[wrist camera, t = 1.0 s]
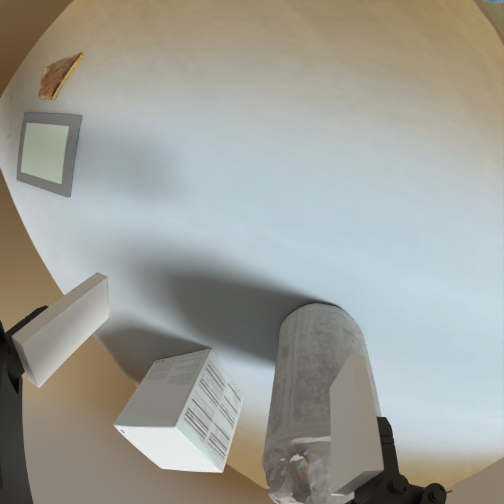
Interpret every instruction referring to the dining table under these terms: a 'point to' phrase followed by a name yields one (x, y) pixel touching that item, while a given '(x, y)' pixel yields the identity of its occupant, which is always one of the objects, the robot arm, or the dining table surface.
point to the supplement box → (184, 413)
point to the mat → (48, 151)
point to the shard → (57, 76)
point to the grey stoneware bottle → (308, 403)
